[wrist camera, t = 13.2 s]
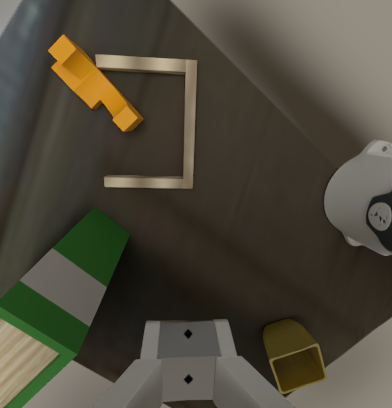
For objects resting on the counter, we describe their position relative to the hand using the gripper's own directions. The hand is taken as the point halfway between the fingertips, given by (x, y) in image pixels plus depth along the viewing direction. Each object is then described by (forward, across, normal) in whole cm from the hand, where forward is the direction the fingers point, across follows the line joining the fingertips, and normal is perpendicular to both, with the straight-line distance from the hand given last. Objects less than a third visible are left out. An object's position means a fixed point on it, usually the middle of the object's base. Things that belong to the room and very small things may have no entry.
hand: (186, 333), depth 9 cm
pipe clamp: (+34, +11, -11) cm, 37 cm away
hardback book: (+33, +17, +15) cm, 40 cm away
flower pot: (+33, -21, +32) cm, 51 cm away
